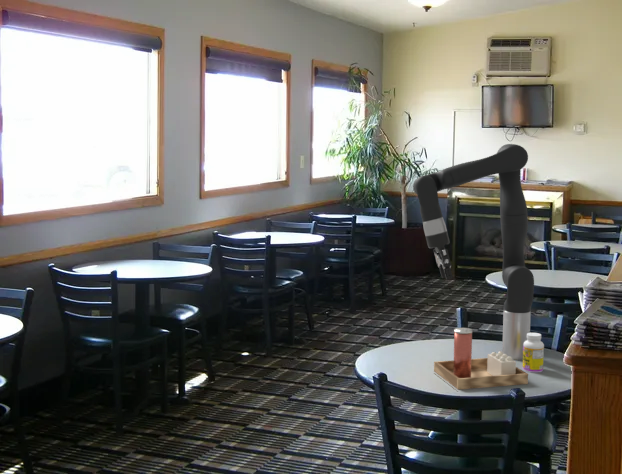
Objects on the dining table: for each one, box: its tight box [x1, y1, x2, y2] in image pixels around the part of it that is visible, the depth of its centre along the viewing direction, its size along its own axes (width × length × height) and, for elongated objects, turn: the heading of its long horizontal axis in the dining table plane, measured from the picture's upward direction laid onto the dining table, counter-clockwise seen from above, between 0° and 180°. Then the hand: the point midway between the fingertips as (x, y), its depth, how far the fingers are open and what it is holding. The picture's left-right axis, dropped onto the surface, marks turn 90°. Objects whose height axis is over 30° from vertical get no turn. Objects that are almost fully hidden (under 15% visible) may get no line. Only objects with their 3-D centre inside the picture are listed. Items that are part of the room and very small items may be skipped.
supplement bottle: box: [522, 332, 545, 373], centre depth 269 cm, size 7×7×13 cm
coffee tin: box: [453, 327, 474, 378], centre depth 259 cm, size 6×6×16 cm
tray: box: [433, 357, 529, 392], centre depth 261 cm, size 24×20×4 cm
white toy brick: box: [487, 350, 517, 376], centre depth 262 cm, size 5×10×7 cm, turn 13°
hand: (447, 278), depth 277 cm, fingers open, 8 cm apart
